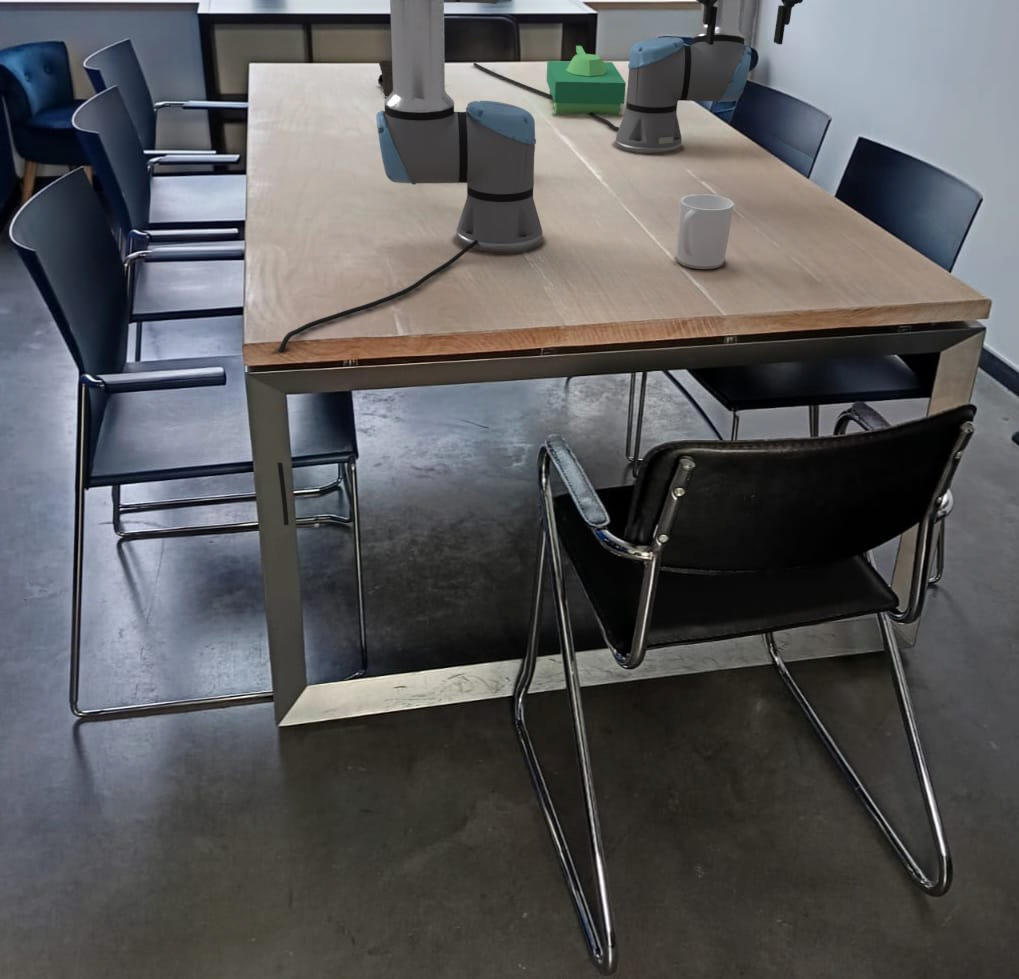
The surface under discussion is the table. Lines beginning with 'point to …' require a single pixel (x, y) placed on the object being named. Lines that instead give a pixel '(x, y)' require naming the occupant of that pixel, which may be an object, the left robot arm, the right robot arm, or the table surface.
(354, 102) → the table surface
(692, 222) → the mug
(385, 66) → the axe head
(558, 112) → the toy tank
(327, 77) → the table surface
